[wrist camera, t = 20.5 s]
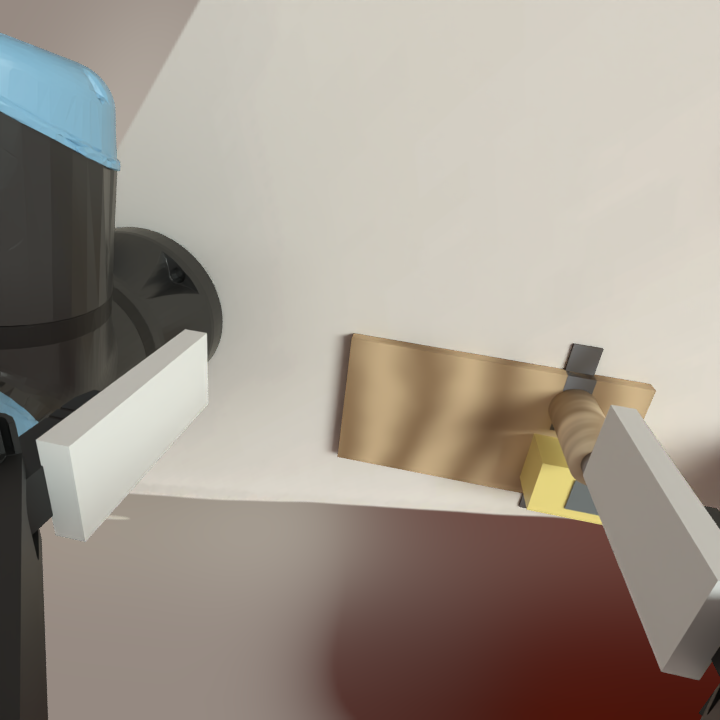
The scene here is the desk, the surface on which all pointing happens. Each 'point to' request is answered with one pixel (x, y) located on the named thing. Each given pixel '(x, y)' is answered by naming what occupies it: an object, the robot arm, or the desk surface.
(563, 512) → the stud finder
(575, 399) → the awl
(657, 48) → the desk surface
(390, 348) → the board
